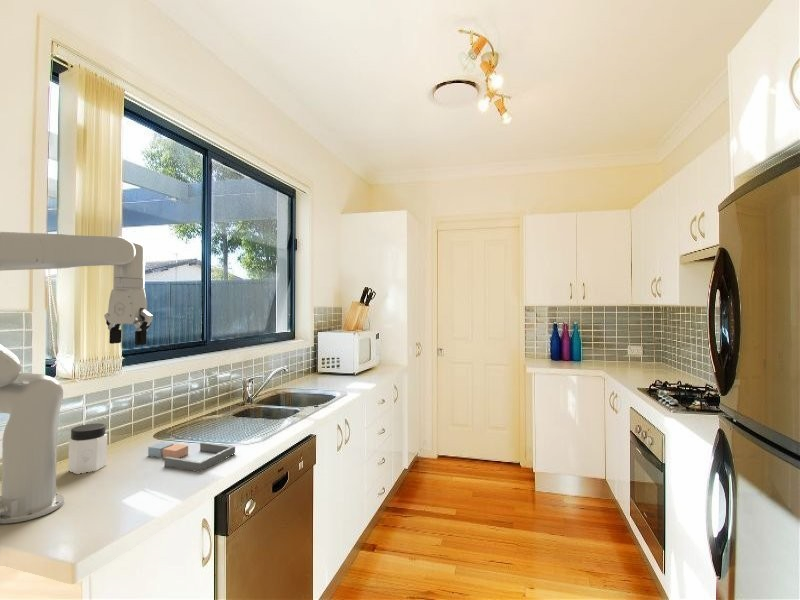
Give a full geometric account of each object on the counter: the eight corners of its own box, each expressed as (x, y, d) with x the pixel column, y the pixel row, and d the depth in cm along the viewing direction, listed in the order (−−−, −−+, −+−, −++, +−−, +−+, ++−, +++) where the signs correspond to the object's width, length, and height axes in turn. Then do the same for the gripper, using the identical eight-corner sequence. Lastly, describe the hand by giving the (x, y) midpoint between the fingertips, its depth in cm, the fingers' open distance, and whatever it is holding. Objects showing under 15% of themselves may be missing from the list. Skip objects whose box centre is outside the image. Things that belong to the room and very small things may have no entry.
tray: (199, 472, 119) (199, 463, 119) (164, 466, 123) (164, 457, 123) (234, 454, 134) (235, 446, 134) (202, 449, 137) (202, 442, 137)
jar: (66, 476, 115) (67, 433, 115) (69, 466, 122) (70, 426, 122) (105, 469, 120) (106, 428, 120) (107, 460, 127) (107, 421, 127)
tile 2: (175, 460, 128) (175, 450, 128) (162, 458, 130) (163, 449, 130) (188, 455, 133) (188, 445, 133) (175, 453, 134) (175, 444, 134)
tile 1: (160, 458, 130) (160, 448, 130) (148, 456, 131) (148, 446, 131) (173, 452, 135) (173, 443, 135) (161, 451, 136) (161, 441, 136)
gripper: (94, 284, 119) (93, 343, 119) (140, 284, 114) (138, 346, 113) (118, 285, 126) (117, 341, 126) (163, 285, 121) (162, 344, 121)
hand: (127, 343), depth 120 cm, fingers open, 9 cm apart
